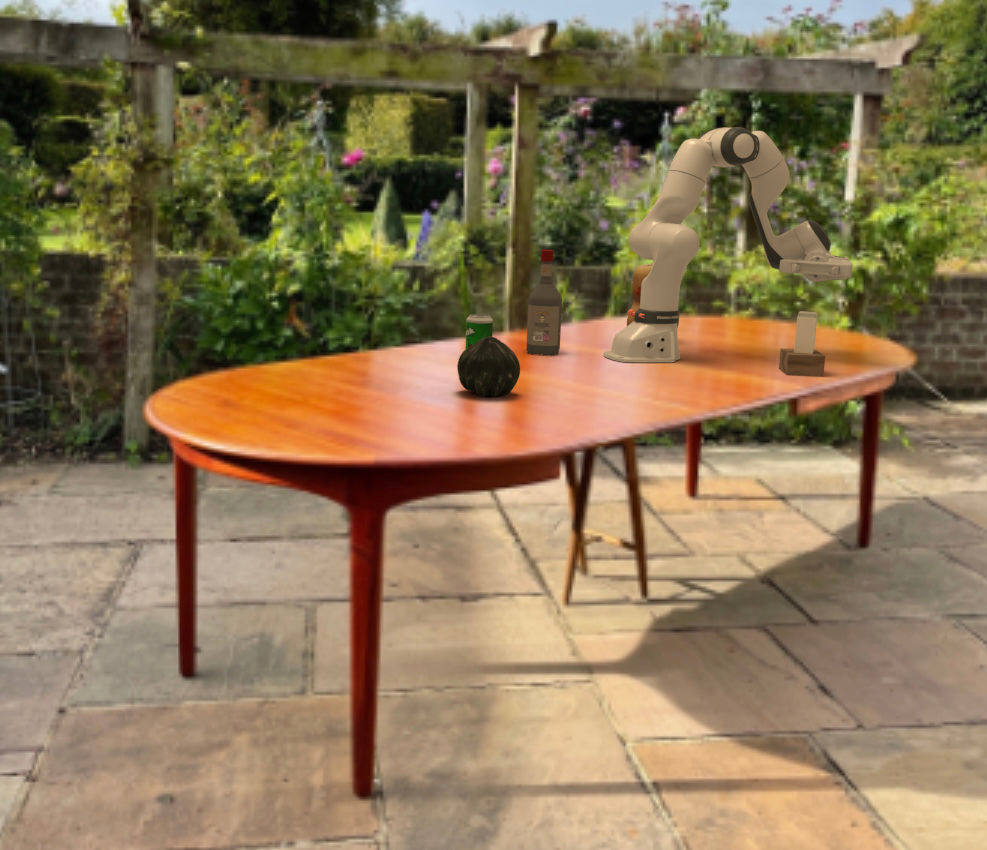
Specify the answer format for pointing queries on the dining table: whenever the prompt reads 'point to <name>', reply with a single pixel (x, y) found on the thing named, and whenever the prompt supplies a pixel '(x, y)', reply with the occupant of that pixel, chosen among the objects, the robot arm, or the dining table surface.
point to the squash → (488, 368)
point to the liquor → (544, 312)
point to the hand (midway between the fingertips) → (813, 269)
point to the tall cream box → (805, 332)
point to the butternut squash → (638, 287)
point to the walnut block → (801, 363)
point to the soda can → (478, 328)
